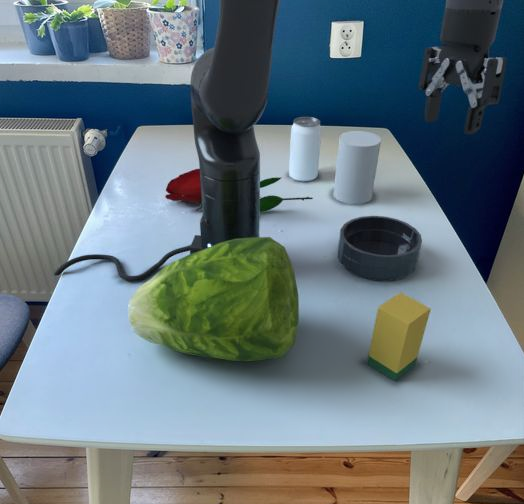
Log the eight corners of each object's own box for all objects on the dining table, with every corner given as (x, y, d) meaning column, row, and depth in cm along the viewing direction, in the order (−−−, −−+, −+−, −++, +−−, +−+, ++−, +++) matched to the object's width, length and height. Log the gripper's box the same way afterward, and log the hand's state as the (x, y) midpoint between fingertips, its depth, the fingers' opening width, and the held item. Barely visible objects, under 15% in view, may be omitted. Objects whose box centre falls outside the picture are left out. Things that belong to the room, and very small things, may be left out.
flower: (314, 158, 100) (163, 156, 106) (308, 200, 97) (152, 195, 103) (317, 189, 108) (176, 185, 114) (312, 229, 105) (167, 223, 111)
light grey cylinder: (379, 200, 113) (388, 143, 105) (344, 206, 110) (352, 148, 102) (359, 184, 118) (367, 128, 110) (326, 190, 116) (332, 133, 108)
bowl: (336, 279, 91) (339, 253, 88) (337, 237, 101) (340, 213, 98) (419, 285, 90) (426, 259, 86) (412, 243, 100) (417, 218, 97)
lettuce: (156, 368, 83) (147, 262, 83) (307, 354, 80) (298, 244, 80) (111, 374, 67) (99, 243, 67) (299, 358, 63) (286, 219, 63)
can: (315, 183, 118) (320, 128, 110) (286, 180, 119) (289, 125, 111) (319, 171, 123) (324, 117, 115) (291, 168, 124) (294, 114, 116)
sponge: (387, 348, 78) (400, 292, 71) (415, 365, 75) (431, 308, 69) (366, 363, 75) (378, 306, 69) (394, 381, 73) (409, 324, 66)
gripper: (418, 2, 79) (401, 120, 88) (494, 9, 69) (466, 141, 78) (456, 1, 82) (435, 115, 91) (534, 7, 72) (502, 134, 81)
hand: (449, 127), depth 85 cm, fingers open, 8 cm apart
